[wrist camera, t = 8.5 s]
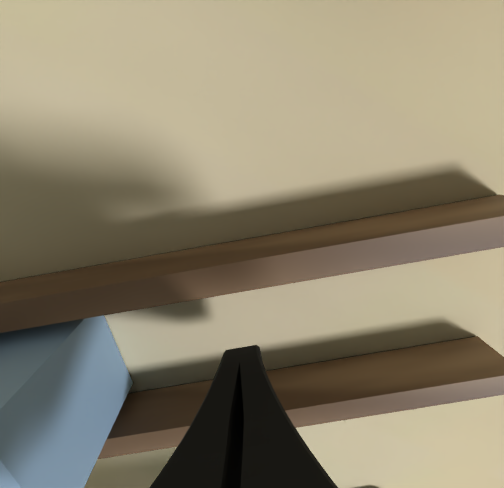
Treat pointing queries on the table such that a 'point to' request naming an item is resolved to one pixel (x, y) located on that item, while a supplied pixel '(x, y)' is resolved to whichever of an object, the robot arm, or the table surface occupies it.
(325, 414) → the guide rail
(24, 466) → the block
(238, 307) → the table surface
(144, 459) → the table surface
